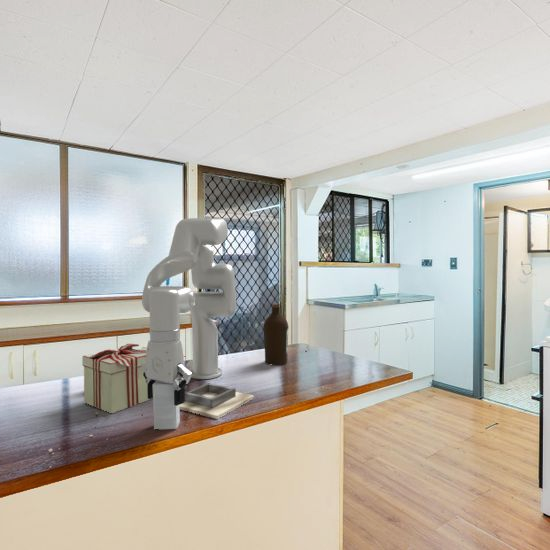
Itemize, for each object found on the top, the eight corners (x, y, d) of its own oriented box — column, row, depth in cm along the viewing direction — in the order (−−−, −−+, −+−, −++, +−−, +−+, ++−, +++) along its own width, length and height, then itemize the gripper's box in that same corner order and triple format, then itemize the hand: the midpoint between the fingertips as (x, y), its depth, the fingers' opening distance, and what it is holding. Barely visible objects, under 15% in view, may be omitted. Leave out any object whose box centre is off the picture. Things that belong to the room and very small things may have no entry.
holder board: (165, 405, 116) (165, 394, 116) (205, 388, 131) (204, 378, 131) (217, 419, 106) (217, 406, 106) (253, 398, 121) (253, 387, 121)
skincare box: (180, 422, 104) (179, 378, 103) (176, 429, 100) (175, 384, 99) (157, 423, 104) (156, 379, 103) (153, 430, 99) (152, 384, 99)
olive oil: (266, 366, 157) (266, 305, 156) (261, 360, 167) (261, 302, 166) (291, 364, 159) (291, 304, 158) (285, 358, 170) (284, 302, 169)
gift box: (120, 417, 108) (119, 356, 107) (79, 405, 116) (77, 349, 116) (165, 398, 122) (164, 344, 122) (125, 389, 131) (124, 339, 131)
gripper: (130, 335, 102) (132, 399, 102) (179, 341, 93) (179, 411, 93) (153, 331, 108) (154, 391, 109) (199, 336, 99) (200, 402, 100)
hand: (166, 400), depth 101 cm, fingers open, 9 cm apart
